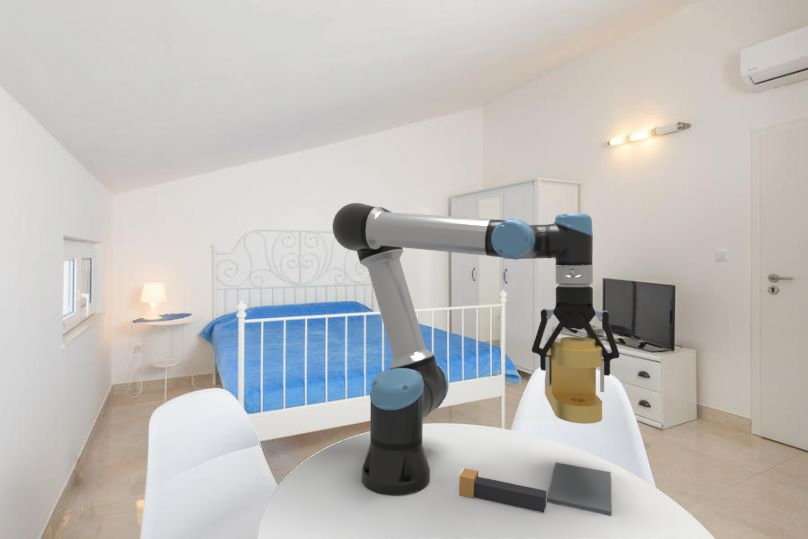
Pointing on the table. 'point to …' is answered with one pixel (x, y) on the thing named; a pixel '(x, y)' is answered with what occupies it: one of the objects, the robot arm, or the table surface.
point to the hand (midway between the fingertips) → (574, 387)
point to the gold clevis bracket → (574, 380)
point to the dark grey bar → (501, 491)
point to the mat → (581, 488)
